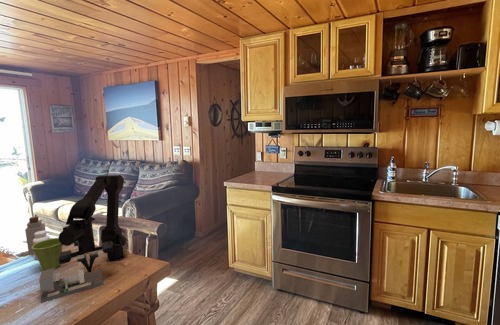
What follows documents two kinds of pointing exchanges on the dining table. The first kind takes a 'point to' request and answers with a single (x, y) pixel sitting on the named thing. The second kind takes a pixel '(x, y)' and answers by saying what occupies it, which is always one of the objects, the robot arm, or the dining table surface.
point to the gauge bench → (52, 286)
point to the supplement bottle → (39, 239)
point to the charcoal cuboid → (60, 287)
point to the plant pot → (48, 253)
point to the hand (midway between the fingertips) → (89, 271)
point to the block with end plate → (73, 276)
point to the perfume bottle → (32, 228)
